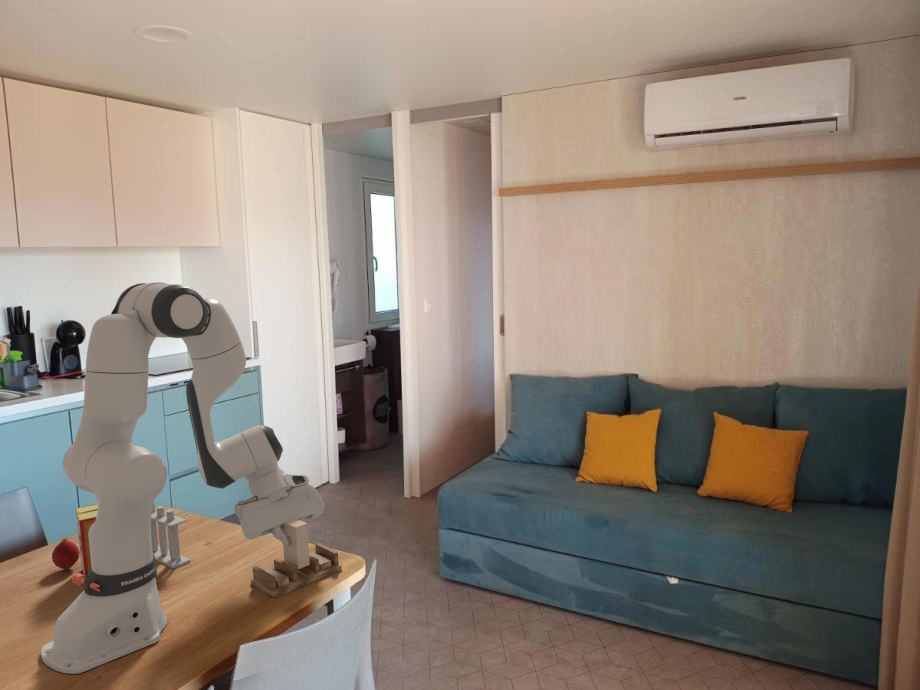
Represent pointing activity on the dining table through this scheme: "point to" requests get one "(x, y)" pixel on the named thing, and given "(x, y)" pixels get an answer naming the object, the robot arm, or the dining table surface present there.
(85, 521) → the baking soda box
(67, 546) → the onion
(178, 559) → the test tube rack
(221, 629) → the dining table surface
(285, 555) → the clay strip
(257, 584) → the slotted holder block
